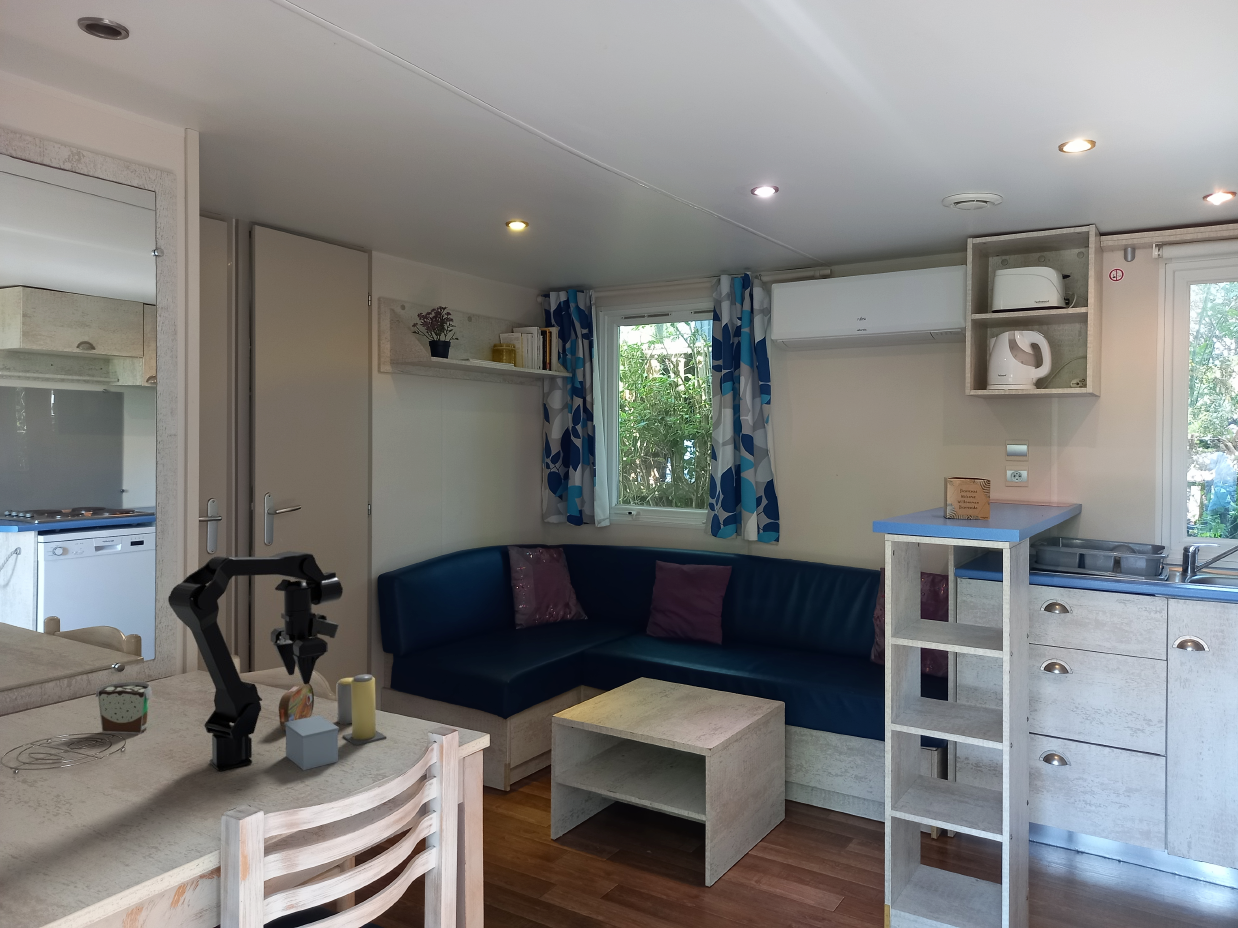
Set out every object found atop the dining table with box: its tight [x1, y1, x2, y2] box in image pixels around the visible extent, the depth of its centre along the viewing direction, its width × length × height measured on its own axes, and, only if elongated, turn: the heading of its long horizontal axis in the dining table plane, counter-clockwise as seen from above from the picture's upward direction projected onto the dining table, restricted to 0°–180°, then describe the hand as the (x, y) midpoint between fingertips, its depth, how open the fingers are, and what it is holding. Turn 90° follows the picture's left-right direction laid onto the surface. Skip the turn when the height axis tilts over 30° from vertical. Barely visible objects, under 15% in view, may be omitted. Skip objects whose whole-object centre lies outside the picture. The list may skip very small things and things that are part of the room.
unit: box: [284, 714, 340, 771], centre depth 176 cm, size 7×10×7 cm
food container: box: [95, 681, 153, 735], centre depth 194 cm, size 12×6×10 cm, turn 84°
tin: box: [278, 683, 315, 731], centre depth 198 cm, size 15×3×8 cm, turn 179°
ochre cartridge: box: [351, 674, 377, 740], centre depth 188 cm, size 5×5×13 cm
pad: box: [342, 730, 387, 746], centre depth 188 cm, size 7×7×1 cm
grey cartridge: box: [336, 677, 354, 725], centre depth 200 cm, size 5×5×10 cm
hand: (298, 679), depth 188 cm, fingers open, 9 cm apart
